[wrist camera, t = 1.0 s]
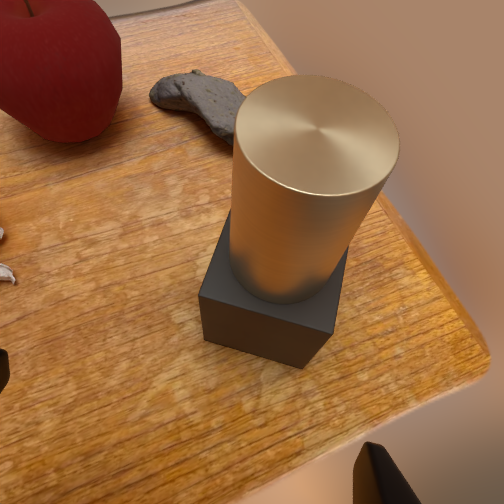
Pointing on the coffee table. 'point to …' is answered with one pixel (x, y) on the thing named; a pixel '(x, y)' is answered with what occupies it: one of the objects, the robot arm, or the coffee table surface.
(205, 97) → the stone
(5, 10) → the apple
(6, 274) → the figurine
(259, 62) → the coffee table surface
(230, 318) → the riser
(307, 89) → the tea tin
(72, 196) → the coffee table surface
